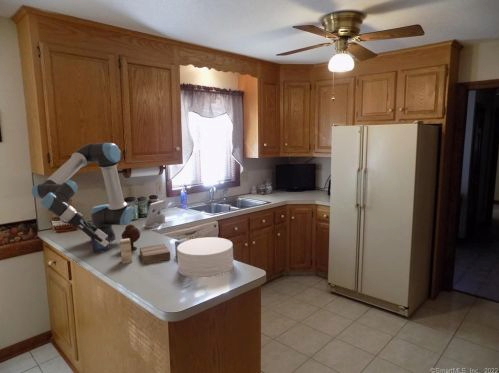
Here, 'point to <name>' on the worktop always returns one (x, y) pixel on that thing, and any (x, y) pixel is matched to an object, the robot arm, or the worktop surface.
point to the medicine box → (179, 243)
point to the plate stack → (205, 257)
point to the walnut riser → (154, 253)
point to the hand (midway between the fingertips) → (106, 241)
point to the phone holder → (155, 215)
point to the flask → (99, 246)
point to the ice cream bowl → (131, 235)
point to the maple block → (125, 250)
